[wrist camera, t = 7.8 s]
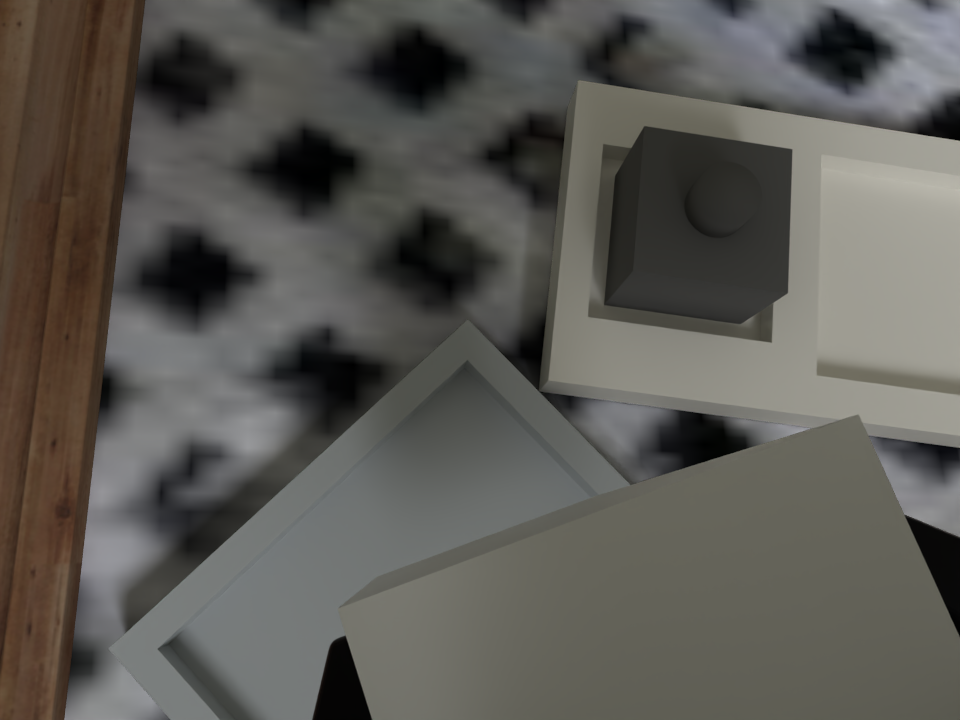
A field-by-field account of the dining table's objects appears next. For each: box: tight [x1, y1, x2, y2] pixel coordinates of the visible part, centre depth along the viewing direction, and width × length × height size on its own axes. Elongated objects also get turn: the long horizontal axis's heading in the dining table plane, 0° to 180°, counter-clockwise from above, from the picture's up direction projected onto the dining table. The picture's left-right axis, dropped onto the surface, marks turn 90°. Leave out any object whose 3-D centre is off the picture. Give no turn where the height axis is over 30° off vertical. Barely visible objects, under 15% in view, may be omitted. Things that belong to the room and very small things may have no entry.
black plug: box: [604, 126, 793, 324], centre depth 22 cm, size 4×4×4 cm
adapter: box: [338, 414, 960, 720], centre depth 11 cm, size 4×5×10 cm
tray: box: [109, 319, 630, 720], centre depth 21 cm, size 12×12×1 cm
